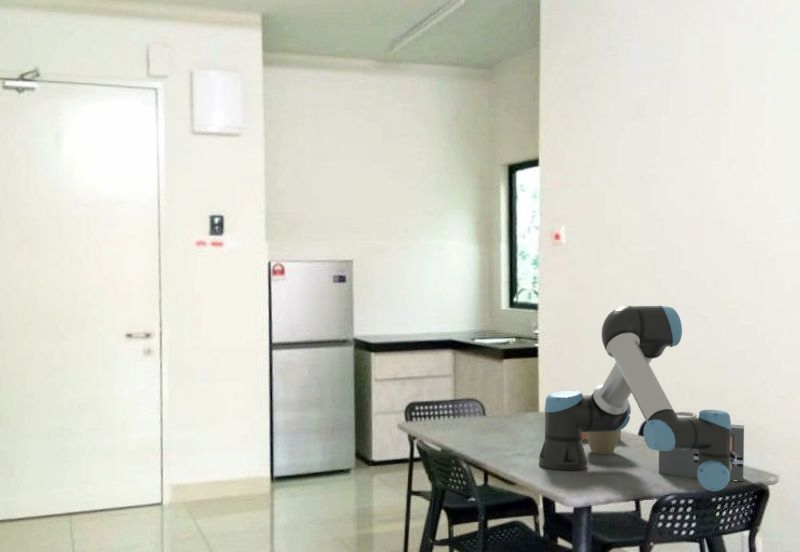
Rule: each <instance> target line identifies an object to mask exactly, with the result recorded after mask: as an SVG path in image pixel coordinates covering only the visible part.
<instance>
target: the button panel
mask: <svg viewBox="0 0 800 552" xmlns="http://www.w3.org/2000/svg"><path fill="white" fill-rule="evenodd" d="M731 435H733V451H735V452H736V453H737V454H738V455H739V456H741V457H743V467H739V466H735V465H734V466H733V467H732V469H731V473H730V480H737V481H743V482H744V463H745V462H744V461H745V460H744V457H745V456H744V454H745V447H744V446H745V425H743V424H732V423H731ZM697 452H699V450H698V449H692V450H690V449H689V450H671V451H658V474H660V473H661V474H662V475H671V476H680V477H689V478H697V479H698V477H697V469H698V465H699V462H697V463H695V462H694V453H697ZM661 474H660V475H661Z"/></svg>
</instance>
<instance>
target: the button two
mask: <svg viewBox="0 0 800 552" xmlns="http://www.w3.org/2000/svg"><path fill="white" fill-rule="evenodd" d="M730 450H733V435H730Z"/></svg>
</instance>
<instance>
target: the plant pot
mask: <svg viewBox="0 0 800 552" xmlns="http://www.w3.org/2000/svg"><path fill="white" fill-rule="evenodd" d="M585 433H586V437H587V443H588V445H589V449H590V451H591V452H592V453H593V454H599V455H611V454H614V452H615V449H616V447H617V443H618V441H619V440H618V438H619V434H620V430H618V431H613V432H608V431H606V432H585Z"/></svg>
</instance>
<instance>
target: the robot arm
mask: <svg viewBox="0 0 800 552" xmlns="http://www.w3.org/2000/svg"><path fill="white" fill-rule="evenodd" d="M682 336H683V327H682V321H681V317H680V315H679V314H678V312H677V310H676V309H674V308H673V307H670V306H667V305H666V306H663V305H623V306H620V307H619V306H618V307H617V308H615V309H613V310H612V311H611V312H610V313H609V314H608V315H607V316H606V317H605V319H604V321H603V324H602V328H601V340H602V344H603V347H604V349H605V351H606V353H607V355H608V356H609V357H611V358H613V359H614V361H615V364H614V365H613V367H612V369H611V370H610V372H609V374H608V376H607V378H606V379H605V381H604V383H603V384H600V385H597V387H595V388H594V391H593V392H592V394H590V395H589V394H587V395H584V394H583V393H582V391H579V390H561V391H556V392H555V391H554V392H552V393H549V394H548V395H547V396H546V398H545V406H544V441H543V444H542V448H541V450H540V453H539V456H538V465H539V466H541V467H542V468H545V469H546V468H547V469H551V470H557V471H580V470H585V469H586V468H587V467H588V459H587V456H586V452H585V449H584V446H583V442H582V441H583V440H582V432H606V431H608V432H613V431H618V430H621V431H622V430H624V429H625V428H626V427H627V425H628V424H629V422H630V419H631V416H630V415H631V411H632V409H631V404H630V402H629V398H630V396H631V394H632V396H633V398H634V400H635V402H636V404H637V406H638V408H639V410H640V412H641V414H642V416H643V418H644V419H645V424H644V427H643V436H644V442H645V445H646V446H647V447H648V448H649V449H650V450H653V451H658V452H659V451H671V450H689V449H690V450H692V449H698V450H699V452H697V453H694V462H695V463H697V462H699V465H698V469H697V477H698V478H697V477H696V478H697V479H698V483H699V485H701V486H702V488H704V489H706V490H708V491H711V492H719V491H722V490H723V489H724V488H726V487H727V486H728V484H729V483H730V482H731V481H730V473H731V469H732V467H733V466H734V465H735V466H739V467H743V457H741V456H739V455H738V454H737V453H736V452H735V451H733V450H730V435H731V424H732V423H731V421H732V420H731V415H730V414H729V412H726V411H724V410H718V409H703V410H700V411H699V414H698V417H697V418H698V419H679V418H678V417H677V415H676V413H675V412H676V411H675V410H674V408H673V406H672V404H671V402H670V400H669V398H668V397H667V395H666V393H665V391H664V389H663V387H662V385H661V384H660V382H659V380H658V378H657V376H656V375H655V373H654V370H653V369H652V367H651V366H650V364H651V362H652V360H653V359H658V358H659V357H661V355H662V354H663V353H664V351H665V349H666V348H667V347H669V348H673V347H677V346H678V345H679V344H680V342H681V340H682Z"/></svg>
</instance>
